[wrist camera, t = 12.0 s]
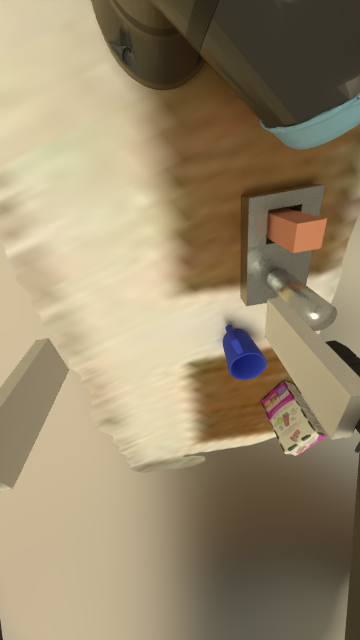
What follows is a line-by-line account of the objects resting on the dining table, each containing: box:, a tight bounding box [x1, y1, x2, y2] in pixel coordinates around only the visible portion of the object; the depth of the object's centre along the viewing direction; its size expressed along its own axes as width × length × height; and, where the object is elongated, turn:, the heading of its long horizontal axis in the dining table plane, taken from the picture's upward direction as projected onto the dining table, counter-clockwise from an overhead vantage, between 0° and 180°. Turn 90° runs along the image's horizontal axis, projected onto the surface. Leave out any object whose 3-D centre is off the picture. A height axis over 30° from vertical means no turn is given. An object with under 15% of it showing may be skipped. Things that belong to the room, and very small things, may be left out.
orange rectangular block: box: [266, 208, 327, 253], centre depth 35 cm, size 4×4×12 cm
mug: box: [223, 325, 267, 380], centre depth 50 cm, size 8×12×10 cm
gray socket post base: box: [241, 184, 337, 331], centre depth 35 cm, size 20×12×18 cm, turn 9°
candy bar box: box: [261, 380, 327, 456], centre depth 62 cm, size 11×5×16 cm, turn 152°
